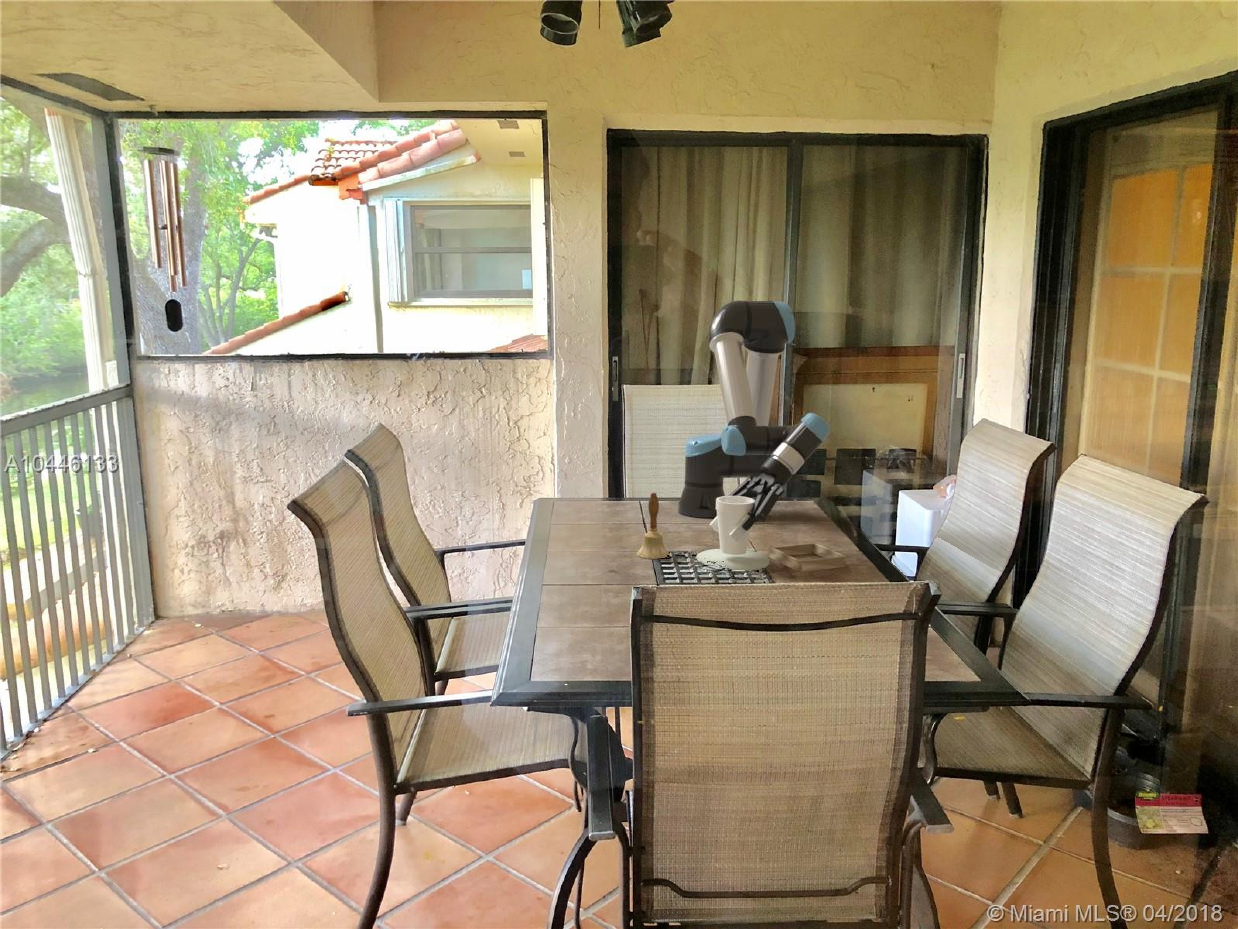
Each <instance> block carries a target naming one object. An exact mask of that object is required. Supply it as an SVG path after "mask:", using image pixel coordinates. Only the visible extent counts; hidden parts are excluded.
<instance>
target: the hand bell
mask: <svg viewBox="0 0 1238 929" xmlns="http://www.w3.org/2000/svg"><path fill="white" fill-rule="evenodd" d="M659 504H660V503H659V499H658V496H657V492H651V494H650V498H649V500H648V506H647V508H648V513H649V517H650V521H649V523H650V524H649V528H650V529H649V531H648V532H646V533H645V534H644V538H643V542H642V546H641V547H640V549H639V550H638V551H636V557H638V558H641V559H645V560H653V559H658V558H665V557H667V555H669V556H670V552H669V551H668V550H667V549H666V547H665V545H664V541H663V540H664V539H663V534H662V533H661V532H659V531H658V526H657V525H658V521H657V518H658V514H659V507H660V506H659ZM667 558H668V557H667ZM665 559H666V558H665ZM653 561H654V560H653Z"/></svg>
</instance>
